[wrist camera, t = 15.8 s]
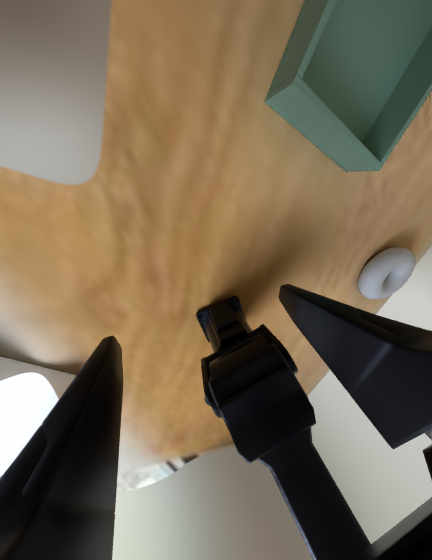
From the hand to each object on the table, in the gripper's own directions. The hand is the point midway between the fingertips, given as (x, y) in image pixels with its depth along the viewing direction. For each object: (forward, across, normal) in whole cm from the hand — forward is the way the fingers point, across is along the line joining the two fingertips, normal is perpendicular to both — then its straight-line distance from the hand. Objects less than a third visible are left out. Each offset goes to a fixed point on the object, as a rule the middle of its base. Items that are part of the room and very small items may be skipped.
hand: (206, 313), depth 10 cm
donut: (+11, -35, +13) cm, 39 cm away
